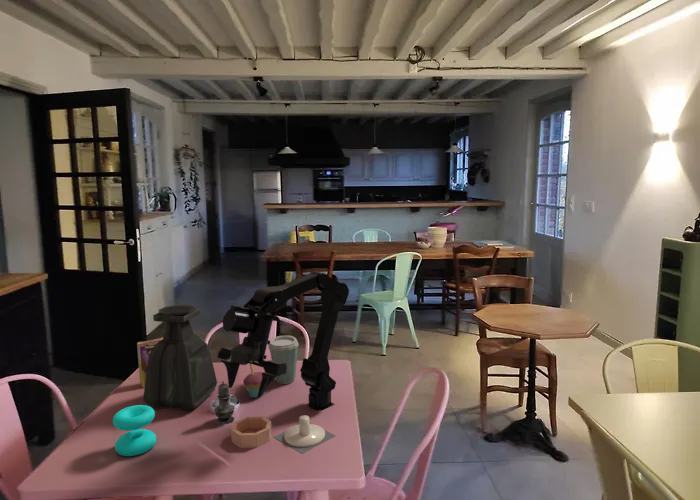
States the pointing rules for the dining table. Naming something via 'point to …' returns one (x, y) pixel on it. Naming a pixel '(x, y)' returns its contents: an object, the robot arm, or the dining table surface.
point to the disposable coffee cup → (285, 356)
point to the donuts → (134, 430)
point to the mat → (304, 449)
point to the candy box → (145, 357)
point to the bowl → (251, 432)
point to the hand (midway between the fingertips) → (244, 392)
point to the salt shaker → (224, 406)
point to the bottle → (179, 363)
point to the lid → (304, 433)
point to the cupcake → (253, 382)
